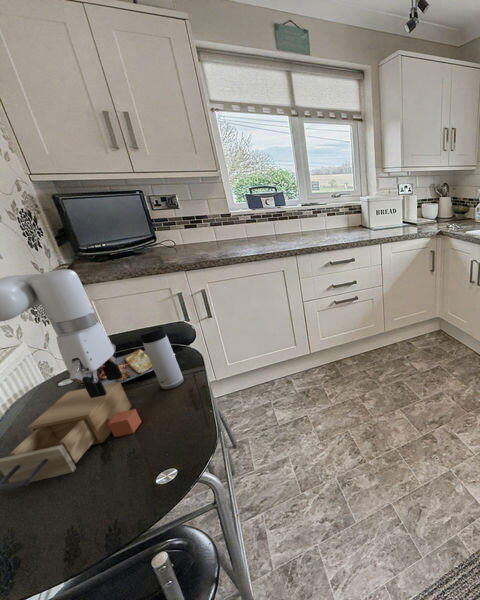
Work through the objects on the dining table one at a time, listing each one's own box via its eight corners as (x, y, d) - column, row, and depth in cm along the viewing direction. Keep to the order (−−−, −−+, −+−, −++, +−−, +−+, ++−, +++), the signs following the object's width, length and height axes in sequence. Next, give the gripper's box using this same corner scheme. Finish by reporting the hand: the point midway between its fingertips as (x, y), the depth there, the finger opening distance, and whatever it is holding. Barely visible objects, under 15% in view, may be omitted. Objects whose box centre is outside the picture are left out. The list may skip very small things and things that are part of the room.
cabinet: (103, 442, 83) (88, 414, 80) (44, 455, 80) (26, 427, 77) (131, 406, 96) (119, 381, 93) (81, 416, 94) (68, 391, 91)
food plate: (80, 376, 116) (76, 367, 114) (156, 348, 132) (153, 340, 130) (92, 402, 100) (87, 393, 99) (177, 367, 116) (173, 358, 115)
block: (133, 433, 85) (127, 419, 84) (114, 437, 85) (107, 423, 83) (141, 421, 89) (135, 408, 88) (123, 425, 89) (116, 412, 87)
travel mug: (164, 392, 102) (140, 335, 94) (159, 385, 106) (136, 330, 99) (186, 382, 106) (165, 327, 99) (180, 375, 110) (160, 322, 103)
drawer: (51, 498, 67) (35, 473, 65) (-16, 515, 65) (-36, 490, 63) (106, 430, 86) (95, 409, 83) (55, 441, 83) (42, 420, 81)
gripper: (81, 312, 83) (109, 372, 89) (27, 343, 67) (67, 412, 73) (115, 307, 84) (140, 366, 91) (70, 336, 69) (105, 405, 75)
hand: (107, 386), depth 82 cm, fingers open, 6 cm apart
